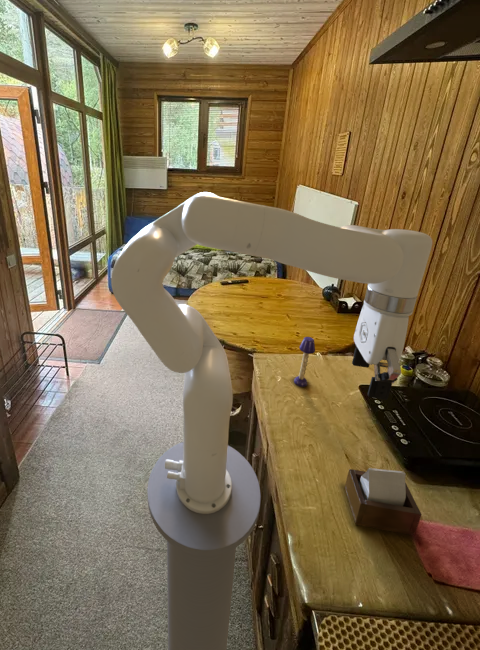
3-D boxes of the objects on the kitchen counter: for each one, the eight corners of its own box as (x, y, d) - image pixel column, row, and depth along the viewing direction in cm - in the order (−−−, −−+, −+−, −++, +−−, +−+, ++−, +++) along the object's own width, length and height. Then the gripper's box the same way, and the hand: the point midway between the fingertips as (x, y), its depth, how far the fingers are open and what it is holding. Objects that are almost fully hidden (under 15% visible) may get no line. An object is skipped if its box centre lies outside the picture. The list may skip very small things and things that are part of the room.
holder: (355, 524, 61) (360, 503, 59) (344, 488, 68) (349, 468, 66) (414, 535, 59) (421, 514, 57) (396, 497, 66) (403, 477, 64)
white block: (398, 519, 61) (410, 481, 58) (363, 514, 62) (373, 478, 58) (389, 500, 64) (400, 464, 61) (355, 496, 65) (364, 460, 62)
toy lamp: (305, 378, 104) (312, 334, 98) (311, 387, 99) (319, 342, 94) (291, 378, 103) (298, 335, 98) (297, 388, 99) (304, 342, 94)
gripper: (352, 281, 63) (336, 353, 69) (384, 318, 47) (361, 408, 52) (392, 285, 62) (373, 358, 67) (439, 324, 46) (409, 416, 51)
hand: (368, 380), depth 60 cm, fingers open, 9 cm apart
